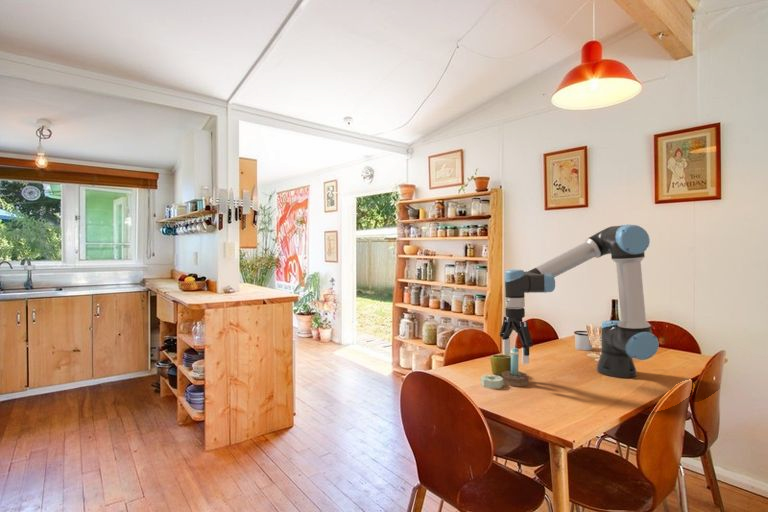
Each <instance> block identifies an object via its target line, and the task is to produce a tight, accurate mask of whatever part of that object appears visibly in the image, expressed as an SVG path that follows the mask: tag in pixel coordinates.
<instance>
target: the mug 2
mask: <svg viewBox="0 0 768 512" xmlns="http://www.w3.org/2000/svg"><path fill="white" fill-rule="evenodd" d="M573 333H574V348H575V349H576V350H578V351H585V352H588V351H589V352H590V351H592V350H593V344H592V345H591V343H590V340H589V336H588V334H587V331H586V330H575V331H573Z"/></svg>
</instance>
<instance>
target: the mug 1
mask: <svg viewBox="0 0 768 512" xmlns="http://www.w3.org/2000/svg"><path fill="white" fill-rule="evenodd" d="M490 364H491V366H490V367H491V372H492V375H496V376H500V377H502V372H505V371H511V354H510V355H503V353H502V354H500V353H498V354H497V353H496V354H492V355H491V356H490Z"/></svg>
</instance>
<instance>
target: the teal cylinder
mask: <svg viewBox="0 0 768 512" xmlns="http://www.w3.org/2000/svg"><path fill="white" fill-rule="evenodd" d="M519 354H520V349H519V348H518V347H510V355H511V376H518V371H519Z"/></svg>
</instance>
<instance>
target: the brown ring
mask: <svg viewBox="0 0 768 512" xmlns="http://www.w3.org/2000/svg"><path fill="white" fill-rule="evenodd" d="M501 378H503V385H506V386H509V387H517V388H518V387H519V388H521V387H525V386H528V385H529V377H528V373H525V372H522V371H519V370H518V376H511V371H505V372H502V376H501Z"/></svg>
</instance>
